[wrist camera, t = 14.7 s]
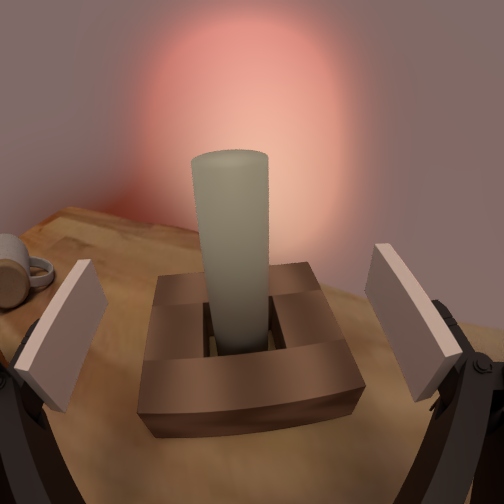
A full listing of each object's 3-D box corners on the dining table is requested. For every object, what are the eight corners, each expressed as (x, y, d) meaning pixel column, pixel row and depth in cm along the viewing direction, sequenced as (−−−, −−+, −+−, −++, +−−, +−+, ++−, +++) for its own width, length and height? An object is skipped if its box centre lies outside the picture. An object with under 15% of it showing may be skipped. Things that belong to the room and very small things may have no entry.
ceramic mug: (-4, 321, 25) (-31, 270, 21) (-4, 290, 30) (-24, 244, 26) (61, 289, 31) (41, 235, 27) (52, 263, 36) (36, 216, 32)
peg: (263, 337, 25) (261, 147, 17) (271, 374, 22) (275, 165, 13) (217, 342, 25) (193, 152, 16) (220, 379, 22) (188, 172, 13)
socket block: (304, 294, 30) (307, 261, 28) (351, 413, 18) (365, 385, 16) (166, 308, 29) (158, 276, 27) (155, 437, 17) (137, 413, 15)
